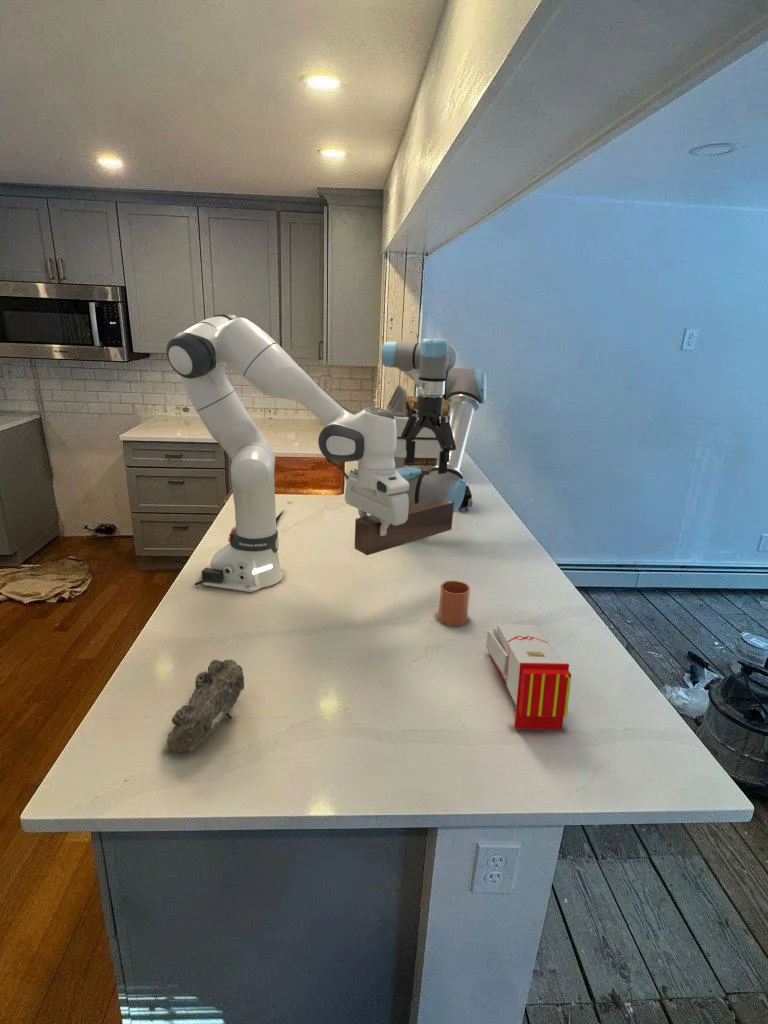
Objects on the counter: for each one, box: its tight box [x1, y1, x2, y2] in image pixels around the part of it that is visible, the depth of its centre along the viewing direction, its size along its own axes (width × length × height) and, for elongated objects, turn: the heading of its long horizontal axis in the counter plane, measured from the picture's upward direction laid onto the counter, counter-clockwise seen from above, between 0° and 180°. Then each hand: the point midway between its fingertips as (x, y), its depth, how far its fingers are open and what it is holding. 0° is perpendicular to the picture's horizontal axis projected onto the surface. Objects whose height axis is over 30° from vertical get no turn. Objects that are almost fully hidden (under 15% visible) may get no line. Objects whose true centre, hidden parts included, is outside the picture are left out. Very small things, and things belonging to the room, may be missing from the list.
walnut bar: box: [354, 498, 454, 556], centre depth 147 cm, size 5×30×8 cm, turn 131°
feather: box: [276, 509, 284, 524], centre depth 213 cm, size 2×28×2 cm
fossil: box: [166, 658, 245, 754], centre depth 106 cm, size 22×10×15 cm
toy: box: [485, 623, 572, 730], centre depth 120 cm, size 12×13×30 cm
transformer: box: [386, 384, 462, 473], centre depth 268 cm, size 34×33×41 cm
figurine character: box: [458, 485, 473, 512], centre depth 229 cm, size 7×8×15 cm
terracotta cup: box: [437, 580, 471, 627], centre depth 145 cm, size 7×7×9 cm
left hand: (373, 530), depth 140 cm, fingers closed on walnut bar, 5 cm apart
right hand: (425, 467), depth 168 cm, fingers open, 13 cm apart
